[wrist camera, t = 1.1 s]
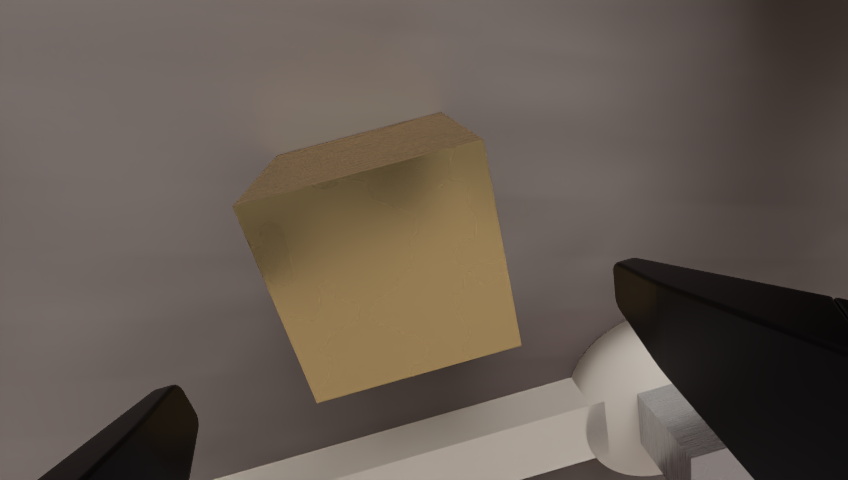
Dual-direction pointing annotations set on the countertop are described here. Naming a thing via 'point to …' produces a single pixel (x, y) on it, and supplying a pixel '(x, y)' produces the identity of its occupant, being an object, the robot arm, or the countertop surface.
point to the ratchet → (540, 431)
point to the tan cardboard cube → (383, 254)
